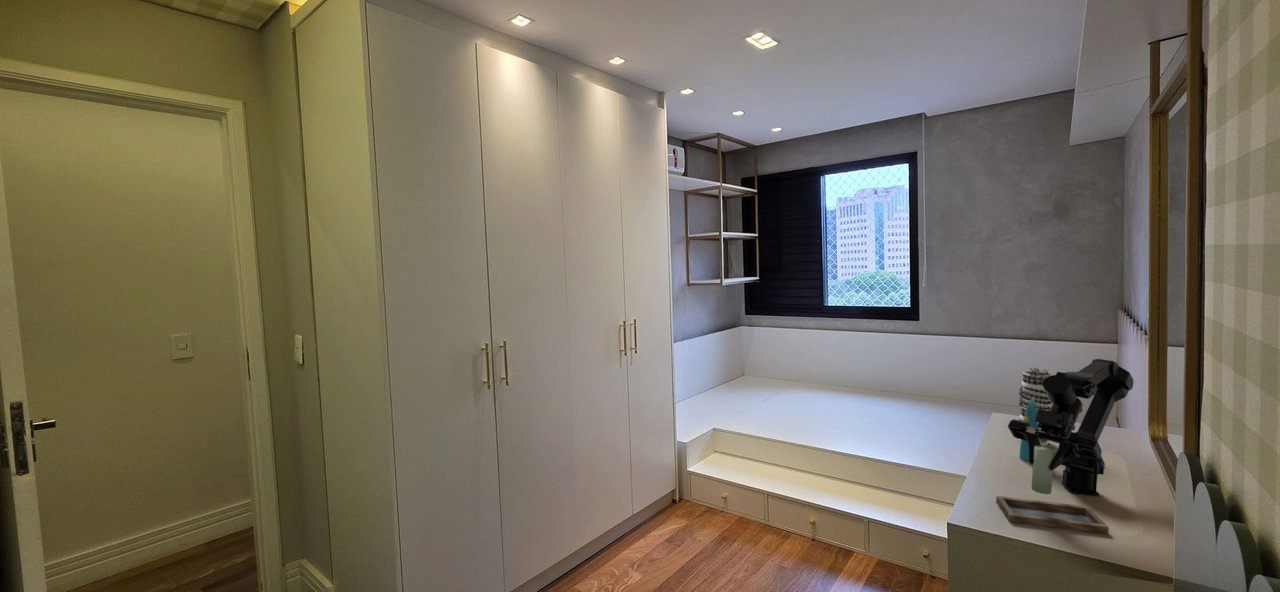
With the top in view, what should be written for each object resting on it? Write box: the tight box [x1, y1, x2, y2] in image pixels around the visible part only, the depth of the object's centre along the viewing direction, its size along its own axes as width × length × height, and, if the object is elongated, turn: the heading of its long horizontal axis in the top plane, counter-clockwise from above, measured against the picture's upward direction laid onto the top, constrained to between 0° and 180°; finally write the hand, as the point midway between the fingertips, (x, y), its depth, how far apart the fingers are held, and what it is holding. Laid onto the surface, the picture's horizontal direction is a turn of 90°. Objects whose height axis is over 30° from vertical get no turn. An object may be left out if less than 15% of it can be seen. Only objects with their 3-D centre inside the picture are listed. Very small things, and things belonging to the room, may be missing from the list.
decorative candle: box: [1017, 367, 1052, 446], centre depth 184 cm, size 9×9×25 cm
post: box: [1031, 445, 1055, 495], centre depth 136 cm, size 4×4×11 cm
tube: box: [1019, 397, 1038, 462], centre depth 169 cm, size 7×5×19 cm, turn 140°
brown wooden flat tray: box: [995, 495, 1110, 535], centre depth 135 cm, size 20×10×2 cm, turn 72°
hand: (1040, 466), depth 135 cm, fingers closed on post, 4 cm apart
